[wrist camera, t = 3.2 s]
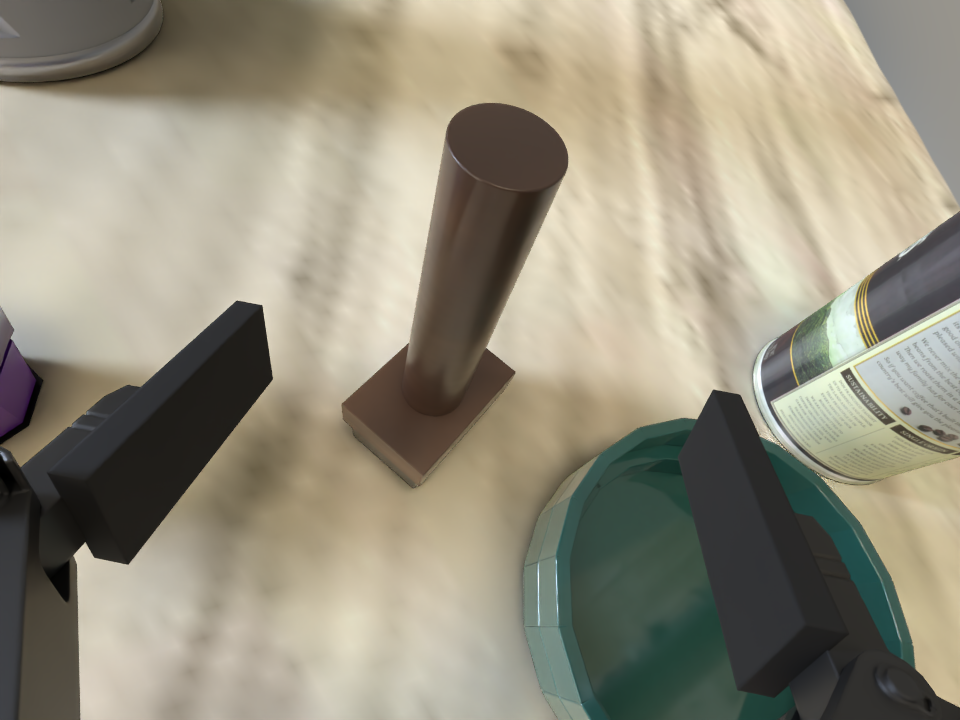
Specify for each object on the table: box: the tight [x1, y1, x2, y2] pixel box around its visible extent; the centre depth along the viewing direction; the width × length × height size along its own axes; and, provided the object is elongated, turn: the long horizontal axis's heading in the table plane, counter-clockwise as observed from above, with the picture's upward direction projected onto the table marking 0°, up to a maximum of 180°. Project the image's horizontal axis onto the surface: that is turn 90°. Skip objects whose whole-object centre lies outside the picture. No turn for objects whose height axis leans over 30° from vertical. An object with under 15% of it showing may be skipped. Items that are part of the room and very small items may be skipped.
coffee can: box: [753, 212, 960, 484], centre depth 26 cm, size 10×10×14 cm
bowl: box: [524, 418, 915, 720], centre depth 22 cm, size 15×15×5 cm
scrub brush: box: [342, 103, 568, 488], centre depth 18 cm, size 5×7×17 cm
